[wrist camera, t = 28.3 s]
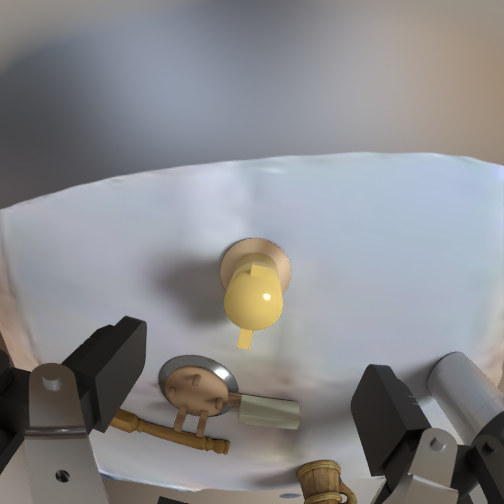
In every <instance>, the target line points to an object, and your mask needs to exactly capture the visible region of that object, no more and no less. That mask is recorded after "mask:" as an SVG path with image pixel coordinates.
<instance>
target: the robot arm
mask: <svg viewBox="0 0 504 504" xmlns="http://www.w3.org/2000/svg"><path fill="white" fill-rule="evenodd" d="M146 334H147V324H146V322H145V321H143V320H139V319H136V318H132V317H129V316H124V317H123V318H122V319H121V320H120V321H119V322H118V323H117V324H116V325H115V326H113V325H107V326H105V327H102V328H100V329H97V330H96V331H95V332H94V333H93V334H92V335H91V336H90V338H88V339H87V340H86V341H84V343H83V344H81V345H80V346H79V347H78V348H77V349H76V350H75V351H74V352H73V353H72V354H71V355H70V356H69V357H68V358H66V359H65V360H64V361H63V362H62V363H61V364H57V363H46V364H42V365H39V366H37V367H36V368H35V369H34V370H32V372H30V371H25V370H21V369H18V368H14V367H11V364H10V360H9V357H8V355H7V354H6V353H5V352H4V351H2V350H0V474H1V473H2V471H3V470H4V468H5V467H6V465H7V464H8V462H9V461H10V459H11V458H12V456H13V455H14V454H15V452H16V451H17V449H18V448H19V446H20V445H21V444H22V442H23V441H24V442H25V453H26V463H27V470H28V477H29V484H30V489H31V495H32V500H33V504H111V503H110V501H109V498H108V496H107V493H106V491H105V488H104V485H103V482H102V480H101V477H100V474H99V471H98V468H97V465H96V462H95V458H94V455H93V452H92V448H91V445H90V441H89V437H88V435H89V434H90V432H91V431H92V429H95V430H98V431H100V432H102V433H105V431H106V429H107V428H108V426H109V424H110V423H111V421H112V420H113V418H114V416H115V415H116V413H117V411H118V410H119V408H120V407H121V405H122V403H123V402H124V400H125V399H126V397H127V395H128V394H129V392H130V391H131V389H132V387H133V386H134V384H135V383H136V381H137V379H138V378H139V376H140V375H141V373H142V371H143V368H144V365H145V359H146ZM427 387H428V389H429V391H430V392H431V394H432V395H433V397H434V398H435V400H436V401H437V403H438V404H439V406H440V407H441V409H442V410H443V412H444V413H445V415H446V416H447V418H448V419H449V421H450V422H451V424H452V425H453V427H454V429H455V430H456V432H457V433H458V435H459V436H460V438H461V440H462V441H463V443H464V444H465V445H458V444H457V442H456V440H455V438H454V437H453V436H452V435H451V434H450V433H448V432H447V431H445V430H443V429H439V428H432V427H431V425H430V423H429V422H428V420H427V418H426V416H425V415H424V413H423V411H422V410H421V408H420V406H419V405H417V401H416V400H415V398H413V395H412V393H411V392H410V390H409V388H408V387H407V386H406V385H405V384H404V383H402V382H401V381H400V380H399V379H397V377H396V376H395V374H394V372H393V371H392V369H391V368H390V366H386V365H374V364H370V365H368V366H367V368H366V370H365V372H364V374H363V376H362V378H361V380H360V383H359V385H358V387H357V389H356V391H355V393H354V395H353V398H352V401H351V412H352V415H353V419H354V422H355V425H356V428H357V431H358V434H359V437H360V440H361V444H362V447H363V450H364V453H365V457H366V460H367V463H368V466H369V470H370V473H371V477H374V476H384V475H385V478H386V480H385V481H384V482H383V483H382V485H381V486H380V488H379V490H378V491H377V493H376V495H375V497H374V498H373V500H372V502H371V504H473V502H472V500H471V497H470V495H469V493H470V492H471V491H472V490H473V489H474V488H475V487H476V486H477V485H478V484H480V486H481V488H482V490H483V492H484V494H485V497H486V499H487V501H488V504H504V395H503V394H502V393H501V392H500V391H499V389H498V388H497V387H496V386H495V385H494V384H493V383H492V382H491V380H490V379H489V378H488V377H487V376H486V375H485V374H484V373H483V372H482V371H481V370H480V369H479V368H478V367H477V366H476V365H475V364H474V363H473V362H472V361H471V360H470V359H469V358H468V357H467V356H466V355H465V354H464V353H461V352H455V353H451V354H449V355H447V356H446V357H444V358H443V359H442V360H440V361H439V362H438V363H437V364H436V366H435V367H434V368H433V370H432V371H431V373H430V375H429V377H428V381H427ZM157 504H188V503H184V502H180V501H176V500H172V499H168V498H165V497H161V496H160V497H159V500H158V503H157Z"/></svg>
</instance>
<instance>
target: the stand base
mask: <svg viewBox="0 0 504 504" xmlns="http://www.w3.org/2000/svg"><path fill="white" fill-rule="evenodd" d="M190 365H192V366H200V367H204V368H206V369H209V370H211V371H213V372H214V373H216V374H217V375H219V376H220V377H221V378H222V379H223V381H224V382H225V383H226V385H227V388H228V392H231V393H236V394H238V393H239V391H238V385H237V382H236V380H235V378H234V377H233V375H232V374H231V373H230V372H229V371H228V370H227V369H226V368H225V367H224V366H222V365H221V364H219V363H218V362H216V361H214V360H211V359H209V358H205V357H202V356H195V355H185V356H180V357H176V358H174V359H172V360H170V361H168V362H167V363H166V364H165V365H164V366H163V368H162V370H161V372H160V375H159V385H160V388H161V391H162V393H163V395H164V396H165V397H166V399H167V400H168V401H169V402H170V403H171V401H170V400H169V398H168V397H167V396H166V391H165V384H166V381H167V379H168V377H169V375H170V374H171V372H173V371H174V370H175V369H177V368H179V367H182V366H190ZM171 404H172V403H171ZM172 405H173V404H172ZM175 407H176V406H175ZM232 407H233V406H230V405H226V407H225V408H224V409H223V410H222V411H221V412H219V413H217V414H215V415H212V416H208V417H213V416H218V415H221V414H224V413H226V412H227V411H229V410H230V409H231V408H232ZM176 408H177V407H176Z"/></svg>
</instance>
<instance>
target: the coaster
mask: <svg viewBox="0 0 504 504" xmlns="http://www.w3.org/2000/svg"><path fill="white" fill-rule="evenodd" d="M255 252H258V253H263V254H266V255H268V256H270V257H271V258H272V259H273V260H274V261H275V263H276V264H277V267H278V271H279V278H280V285H281V293H282V295H283V294H284V292H285V291H286V289H287V287H288V285H289V282H290V278H291V268H290V264H289V261H288V258H287V256H286V255H285V253H284V252H283V250H282V249H281V248H280V247H279V246H277V245H276V244H274V243H273V242H271V241H268V240H265V239H261V238H250V239H245V240H242V241H240V242H238V243H236V244H235V245H234V246H232V247H231V248H230V249H229V250H228V252H227V253H226V255H225V256H224V258H223V261H222V263H221V268H220V277H221V281H222V284H223V287H224V289H225V290H226V291H227V289H228V286H229V283H230V281H231V278H232V275H233V273H234V270H235V267H236V265H237V263H238V261H239V260H240V259H241V258H242V257H244V256H245V255H247V254H250V253H255Z"/></svg>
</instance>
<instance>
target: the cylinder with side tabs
mask: <svg viewBox="0 0 504 504" xmlns="http://www.w3.org/2000/svg"><path fill="white" fill-rule="evenodd" d="M282 307H283V301H282V293H281V285H280V278H279V271H278V267H277V264H276V263H275V261H274V260H273V259H272V258H271V257H270V256H268V255H266V254H263V253H258V252H255V253H250V254H247V255H245V256H244V257H242V258H241V259H240V260H239V261H238V263H237V265H236V267H235V270H234V273H233V275H232V278H231V281H230V283H229V286H228V289H227V291H226V294H225V297H224V309H225V312H226V314H227V316H228V318H229V319H230V320H231V321H232V322H233V323H234V324H235V325H237V326H238V327H240V334H239V339H238V345H237V348H242V349H247V350H249V349H250V344H251V340H252V335H253V330H261V329H265V328H267V327H269V326H271V325H272V324H273V323H274V322H276V320H277V319H278V318H279V316H280V314H281V312H282Z"/></svg>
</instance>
